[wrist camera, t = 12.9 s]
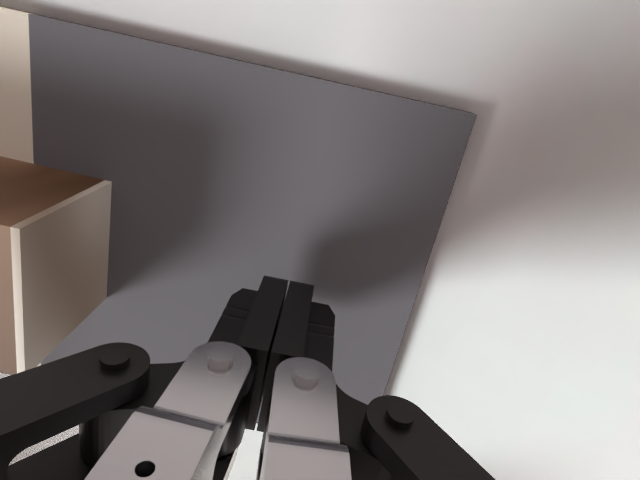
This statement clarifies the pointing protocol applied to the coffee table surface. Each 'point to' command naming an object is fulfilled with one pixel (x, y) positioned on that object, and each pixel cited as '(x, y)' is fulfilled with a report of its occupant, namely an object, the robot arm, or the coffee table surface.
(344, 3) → the coffee table surface
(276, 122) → the mat
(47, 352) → the walnut block
